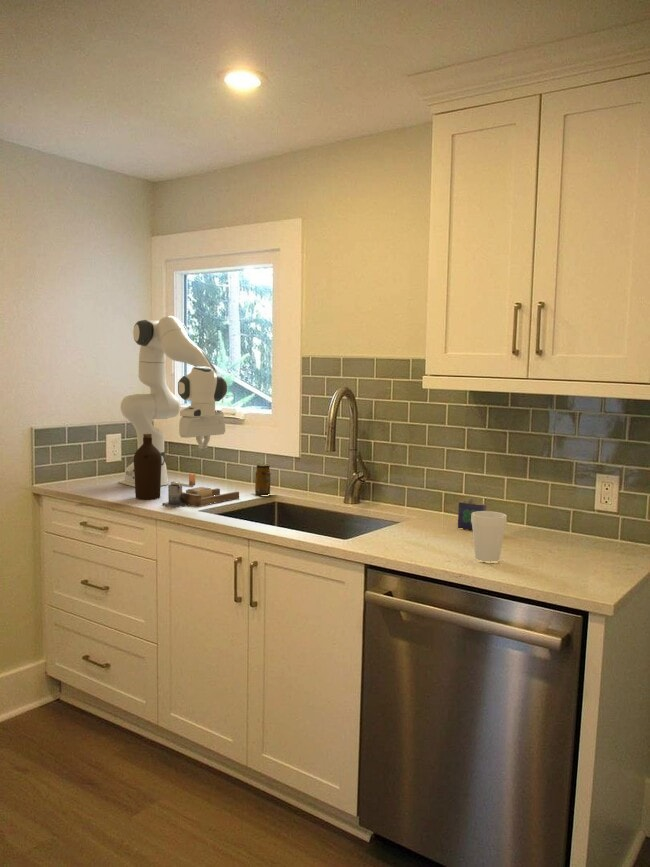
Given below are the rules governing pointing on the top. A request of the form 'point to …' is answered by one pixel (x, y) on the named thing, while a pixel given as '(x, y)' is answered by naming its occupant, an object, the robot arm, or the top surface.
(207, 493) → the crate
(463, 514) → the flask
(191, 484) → the crank
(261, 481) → the condiment
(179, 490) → the grey cylinder
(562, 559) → the top surface
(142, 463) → the olive oil
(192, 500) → the bay
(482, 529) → the foam cup
